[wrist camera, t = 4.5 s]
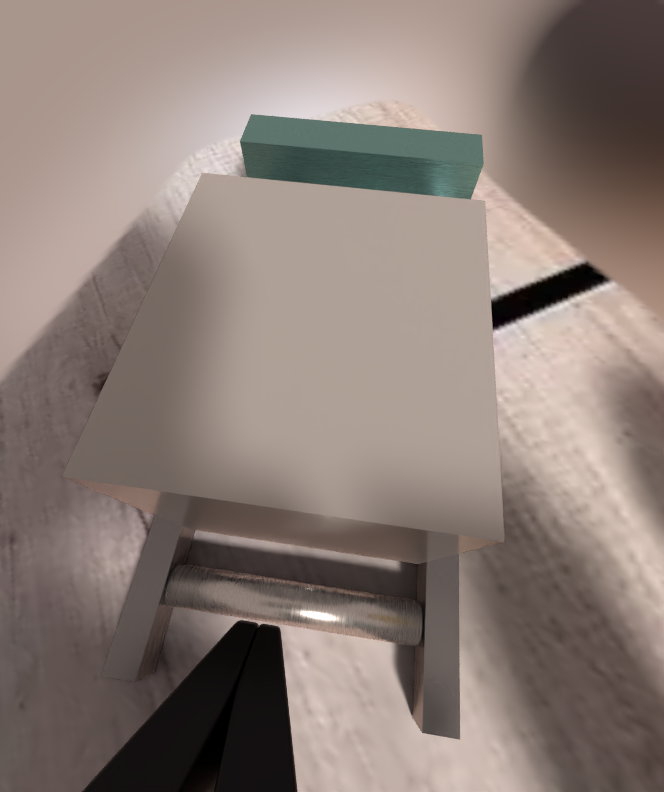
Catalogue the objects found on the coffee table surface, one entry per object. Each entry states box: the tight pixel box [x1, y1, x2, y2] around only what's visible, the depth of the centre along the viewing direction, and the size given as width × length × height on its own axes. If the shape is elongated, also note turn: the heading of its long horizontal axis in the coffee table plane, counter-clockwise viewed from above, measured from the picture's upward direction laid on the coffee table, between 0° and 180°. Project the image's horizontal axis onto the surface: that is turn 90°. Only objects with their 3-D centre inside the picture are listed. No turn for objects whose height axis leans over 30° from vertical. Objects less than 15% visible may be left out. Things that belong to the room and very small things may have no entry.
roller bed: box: [101, 115, 483, 739], centre depth 17 cm, size 12×25×6 cm, turn 172°
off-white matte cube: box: [62, 173, 505, 564], centre depth 13 cm, size 10×9×8 cm
